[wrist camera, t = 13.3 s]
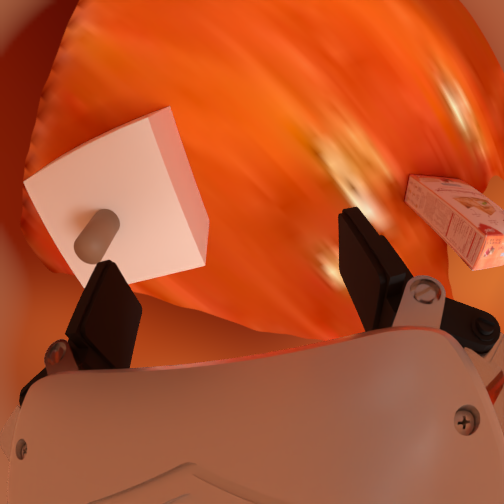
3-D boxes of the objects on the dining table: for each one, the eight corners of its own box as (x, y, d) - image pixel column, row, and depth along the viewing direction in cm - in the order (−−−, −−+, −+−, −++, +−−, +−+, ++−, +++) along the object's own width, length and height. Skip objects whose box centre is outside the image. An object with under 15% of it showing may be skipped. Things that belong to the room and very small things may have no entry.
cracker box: (460, 176, 43) (532, 232, 25) (453, 203, 46) (519, 264, 29) (408, 171, 42) (488, 235, 25) (402, 201, 45) (472, 274, 28)
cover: (63, 154, 35) (-4, 203, 21) (169, 105, 34) (128, 127, 19) (110, 249, 46) (75, 323, 32) (209, 221, 45) (202, 298, 30)
